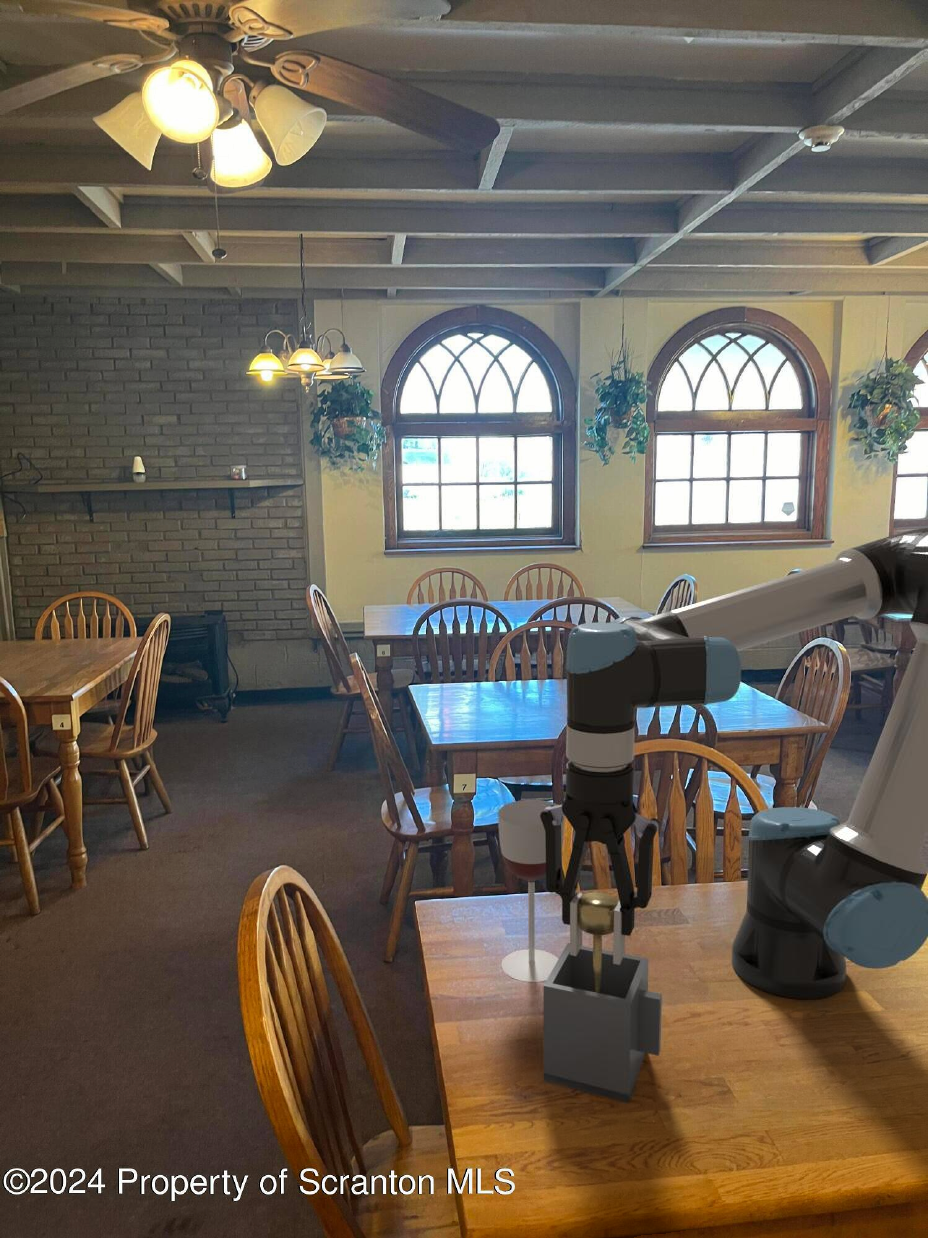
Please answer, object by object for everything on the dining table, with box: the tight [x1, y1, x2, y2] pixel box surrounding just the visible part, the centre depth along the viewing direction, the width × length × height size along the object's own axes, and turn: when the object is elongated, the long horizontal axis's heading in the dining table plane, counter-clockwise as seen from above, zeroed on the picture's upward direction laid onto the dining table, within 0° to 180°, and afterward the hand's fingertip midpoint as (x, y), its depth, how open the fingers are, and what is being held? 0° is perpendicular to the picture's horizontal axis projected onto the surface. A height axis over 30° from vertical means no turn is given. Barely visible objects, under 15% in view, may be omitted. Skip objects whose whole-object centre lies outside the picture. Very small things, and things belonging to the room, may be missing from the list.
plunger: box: [579, 891, 618, 994], centre depth 104 cm, size 7×7×19 cm
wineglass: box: [497, 799, 566, 983], centre depth 125 cm, size 9×10×23 cm
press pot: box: [542, 942, 663, 1104], centre depth 104 cm, size 12×10×12 cm
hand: (597, 953), depth 103 cm, fingers closed on plunger, 4 cm apart
